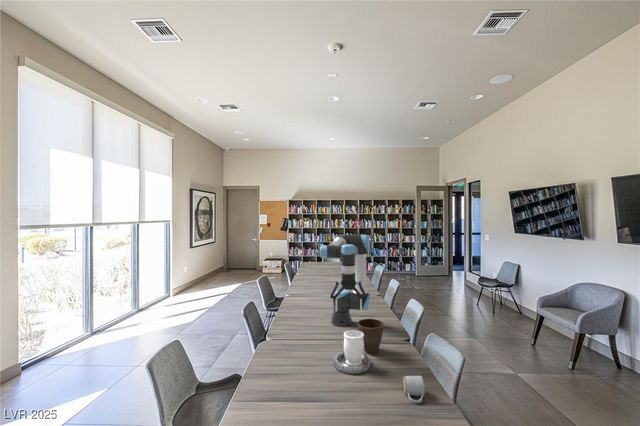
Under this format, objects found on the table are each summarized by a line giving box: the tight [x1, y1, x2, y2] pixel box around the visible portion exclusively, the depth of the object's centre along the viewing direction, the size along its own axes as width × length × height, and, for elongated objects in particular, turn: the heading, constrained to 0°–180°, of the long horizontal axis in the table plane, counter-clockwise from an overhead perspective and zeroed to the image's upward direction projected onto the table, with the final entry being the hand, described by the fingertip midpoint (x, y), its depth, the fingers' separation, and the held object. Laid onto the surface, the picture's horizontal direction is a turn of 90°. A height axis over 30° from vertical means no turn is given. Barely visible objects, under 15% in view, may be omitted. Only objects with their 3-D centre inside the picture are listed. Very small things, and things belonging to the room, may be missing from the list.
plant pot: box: [357, 318, 385, 355], centre depth 169 cm, size 15×15×16 cm
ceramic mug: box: [402, 375, 426, 404], centre depth 127 cm, size 11×8×8 cm
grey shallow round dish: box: [333, 350, 371, 375], centre depth 153 cm, size 19×19×4 cm
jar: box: [343, 329, 365, 366], centre depth 153 cm, size 11×10×15 cm
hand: (348, 311), depth 162 cm, fingers open, 13 cm apart
